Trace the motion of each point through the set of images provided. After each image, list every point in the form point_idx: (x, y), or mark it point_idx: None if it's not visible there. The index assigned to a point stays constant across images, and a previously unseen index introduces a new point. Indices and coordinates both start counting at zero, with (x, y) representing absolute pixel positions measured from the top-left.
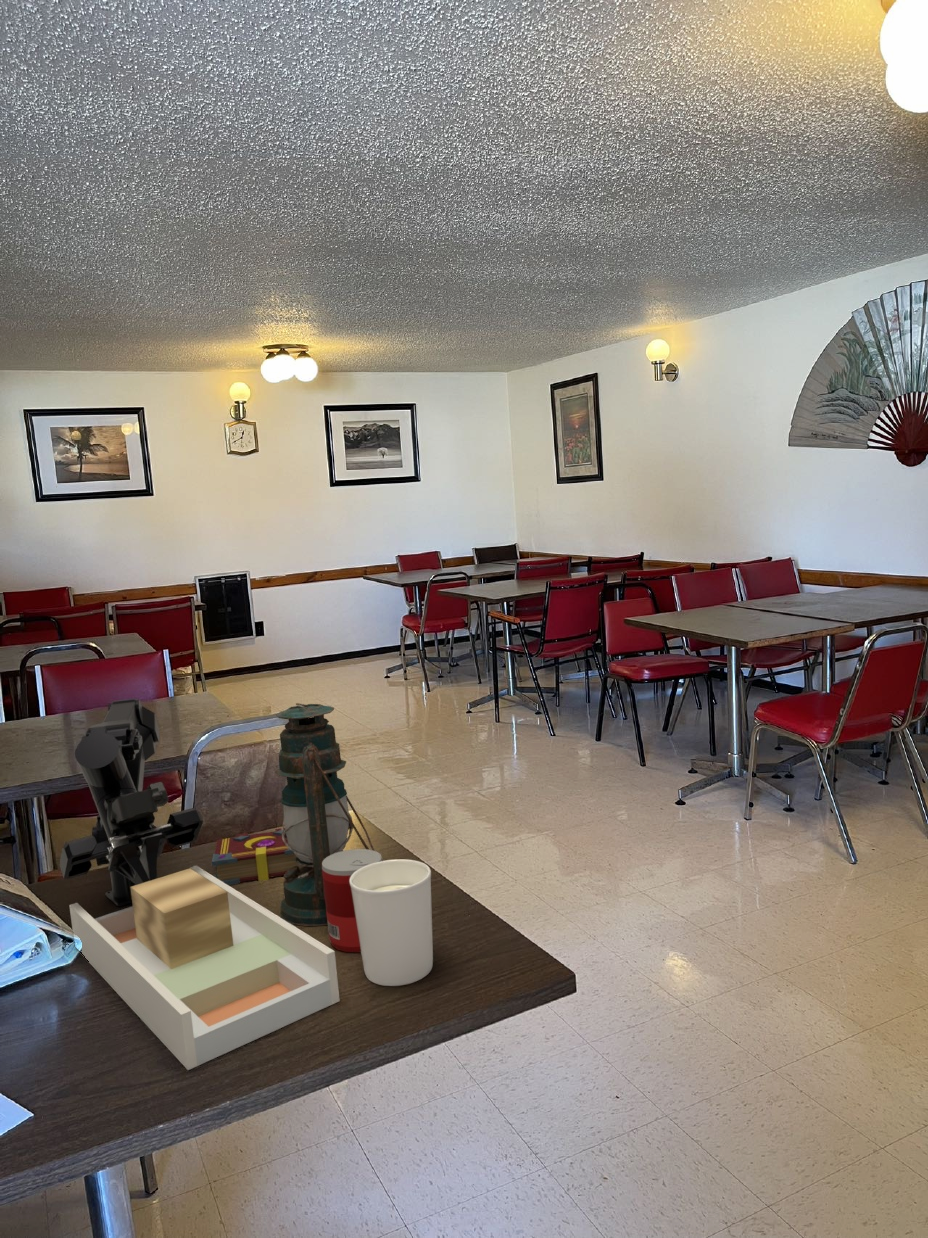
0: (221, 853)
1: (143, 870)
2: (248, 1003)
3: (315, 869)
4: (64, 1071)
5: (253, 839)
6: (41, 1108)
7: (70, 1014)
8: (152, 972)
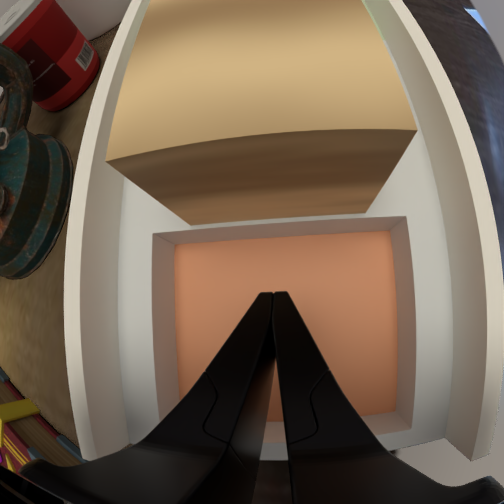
0: None
1: (287, 374)
2: None
3: (11, 61)
4: (455, 29)
5: None
6: (460, 9)
7: (474, 124)
8: None
